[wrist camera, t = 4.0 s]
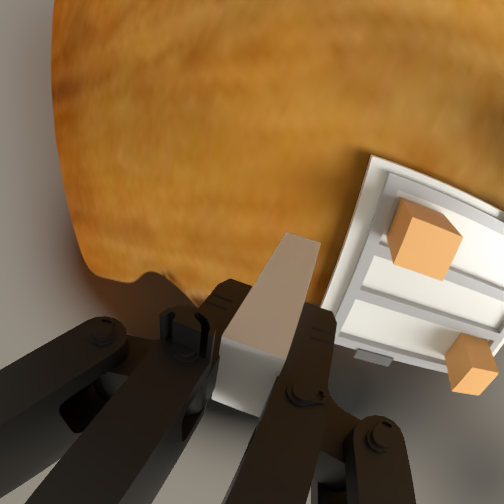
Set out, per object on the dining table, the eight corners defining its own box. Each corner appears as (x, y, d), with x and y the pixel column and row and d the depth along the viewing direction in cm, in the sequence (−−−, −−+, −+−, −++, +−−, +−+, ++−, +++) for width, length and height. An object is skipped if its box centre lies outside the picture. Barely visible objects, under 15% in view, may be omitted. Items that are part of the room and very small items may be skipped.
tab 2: (444, 356, 24) (451, 391, 20) (461, 332, 22) (472, 367, 18) (469, 362, 23) (478, 395, 19) (486, 340, 22) (499, 373, 17)
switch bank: (311, 327, 29) (307, 343, 27) (371, 151, 21) (374, 154, 18) (472, 371, 25) (476, 385, 23) (552, 238, 16) (564, 249, 14)
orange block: (386, 236, 21) (393, 264, 17) (400, 197, 20) (412, 216, 16) (427, 251, 21) (442, 281, 17) (443, 213, 19) (463, 237, 15)
